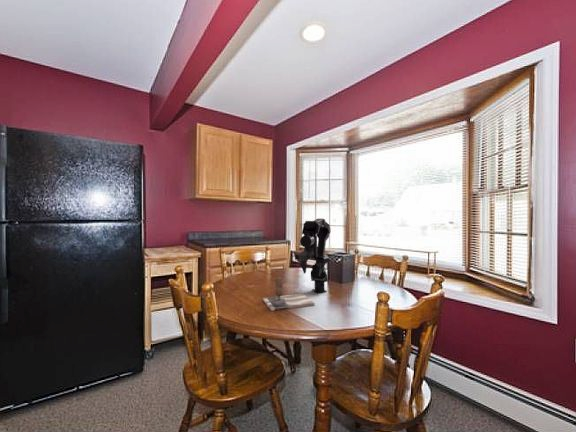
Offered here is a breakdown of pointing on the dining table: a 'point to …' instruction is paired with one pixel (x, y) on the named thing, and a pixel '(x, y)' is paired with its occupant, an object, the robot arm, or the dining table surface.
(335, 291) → the dining table surface
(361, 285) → the dining table surface
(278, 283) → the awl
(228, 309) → the dining table surface
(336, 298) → the dining table surface
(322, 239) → the robot arm
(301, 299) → the cream and grey cloth
